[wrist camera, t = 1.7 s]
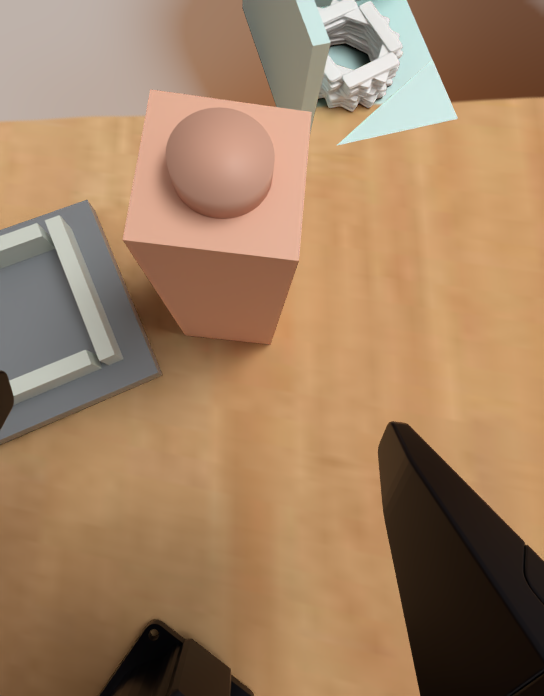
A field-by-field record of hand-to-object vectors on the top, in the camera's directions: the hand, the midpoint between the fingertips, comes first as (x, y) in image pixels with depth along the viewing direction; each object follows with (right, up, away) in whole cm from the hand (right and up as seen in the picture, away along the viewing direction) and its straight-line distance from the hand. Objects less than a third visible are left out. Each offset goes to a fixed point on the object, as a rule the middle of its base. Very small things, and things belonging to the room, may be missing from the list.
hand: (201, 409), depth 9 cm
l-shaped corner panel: (+7, +21, +18) cm, 29 cm away
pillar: (-1, +4, +14) cm, 15 cm away
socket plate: (-12, +3, +13) cm, 18 cm away
